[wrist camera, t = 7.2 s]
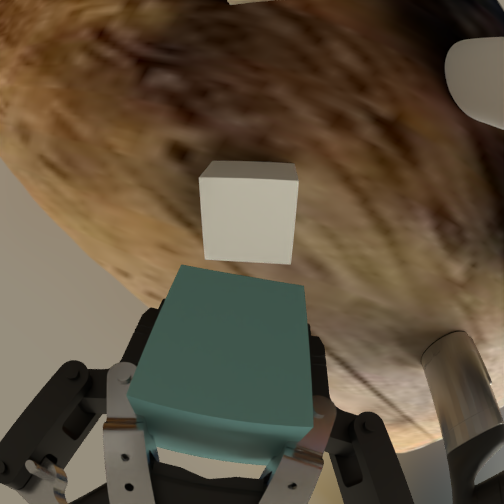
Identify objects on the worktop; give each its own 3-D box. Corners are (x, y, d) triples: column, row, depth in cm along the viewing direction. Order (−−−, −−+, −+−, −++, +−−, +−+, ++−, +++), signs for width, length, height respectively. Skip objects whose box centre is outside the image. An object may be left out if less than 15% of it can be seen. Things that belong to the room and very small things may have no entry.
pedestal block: (294, 163, 23) (298, 180, 19) (288, 234, 27) (290, 264, 23) (213, 160, 24) (198, 177, 19) (216, 230, 27) (205, 259, 23)
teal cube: (303, 285, 11) (313, 427, 6) (277, 357, 14) (272, 465, 9) (181, 264, 11) (126, 394, 6) (182, 341, 14) (152, 445, 9)
